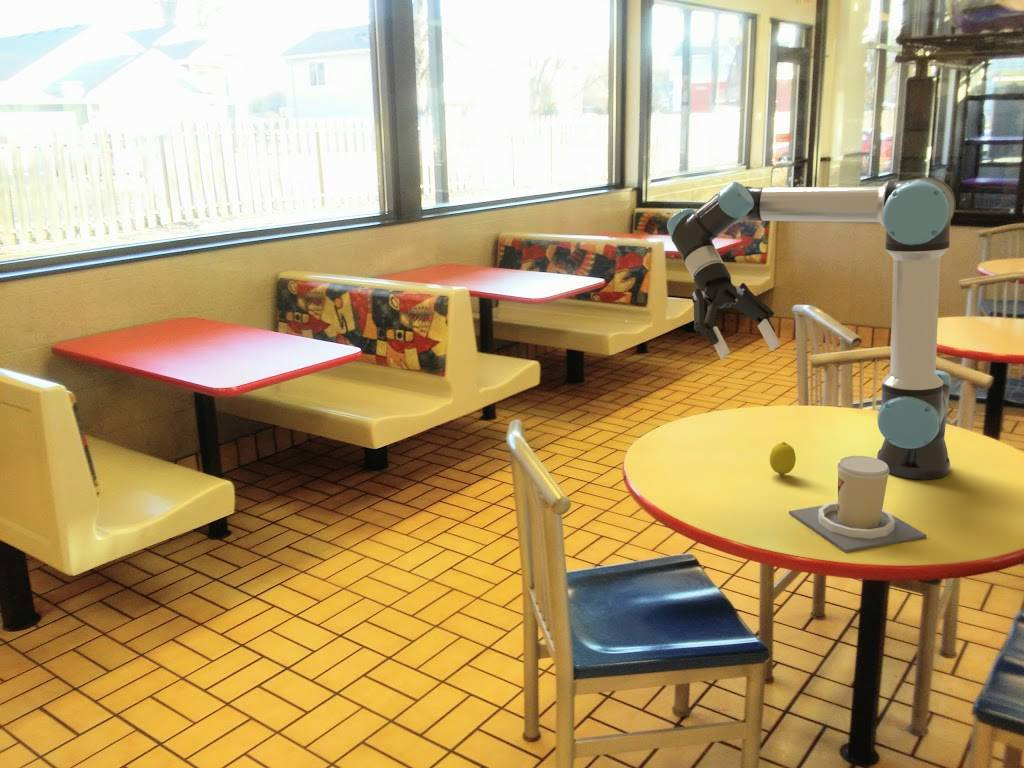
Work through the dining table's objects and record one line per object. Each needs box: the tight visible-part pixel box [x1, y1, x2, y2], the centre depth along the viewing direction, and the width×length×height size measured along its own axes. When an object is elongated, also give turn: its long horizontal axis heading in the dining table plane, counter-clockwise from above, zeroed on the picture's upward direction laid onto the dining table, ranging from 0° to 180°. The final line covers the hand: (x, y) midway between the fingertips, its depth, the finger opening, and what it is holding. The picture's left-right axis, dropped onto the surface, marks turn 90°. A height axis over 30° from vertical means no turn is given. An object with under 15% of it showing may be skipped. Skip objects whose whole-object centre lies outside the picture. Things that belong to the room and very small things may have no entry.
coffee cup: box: [837, 455, 890, 529], centre depth 174 cm, size 9×9×12 cm
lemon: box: [769, 441, 797, 477], centre depth 199 cm, size 6×6×8 cm
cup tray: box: [788, 501, 927, 553], centre depth 175 cm, size 18×18×2 cm
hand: (751, 351), depth 189 cm, fingers open, 13 cm apart
